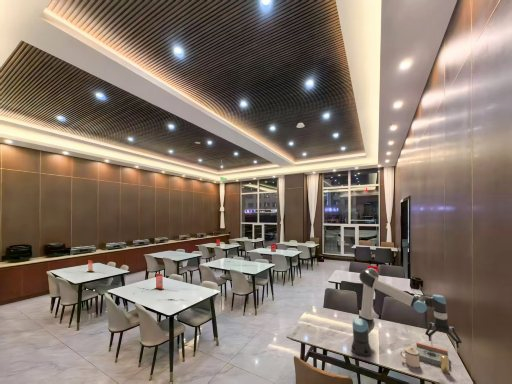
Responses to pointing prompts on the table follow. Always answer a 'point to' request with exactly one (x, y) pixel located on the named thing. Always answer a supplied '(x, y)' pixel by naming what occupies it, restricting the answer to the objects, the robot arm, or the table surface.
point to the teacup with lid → (411, 357)
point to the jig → (430, 353)
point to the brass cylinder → (444, 364)
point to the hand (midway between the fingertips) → (443, 349)
